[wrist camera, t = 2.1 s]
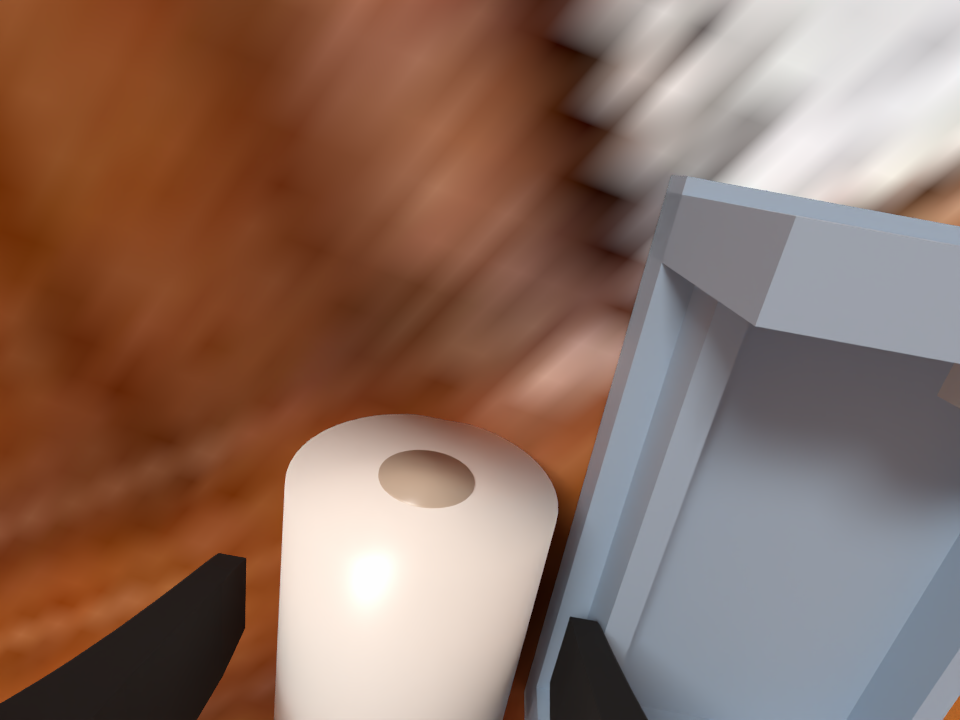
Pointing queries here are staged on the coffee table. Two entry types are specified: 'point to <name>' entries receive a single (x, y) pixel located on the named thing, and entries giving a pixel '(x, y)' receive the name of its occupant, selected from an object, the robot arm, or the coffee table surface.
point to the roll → (408, 571)
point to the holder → (777, 469)
